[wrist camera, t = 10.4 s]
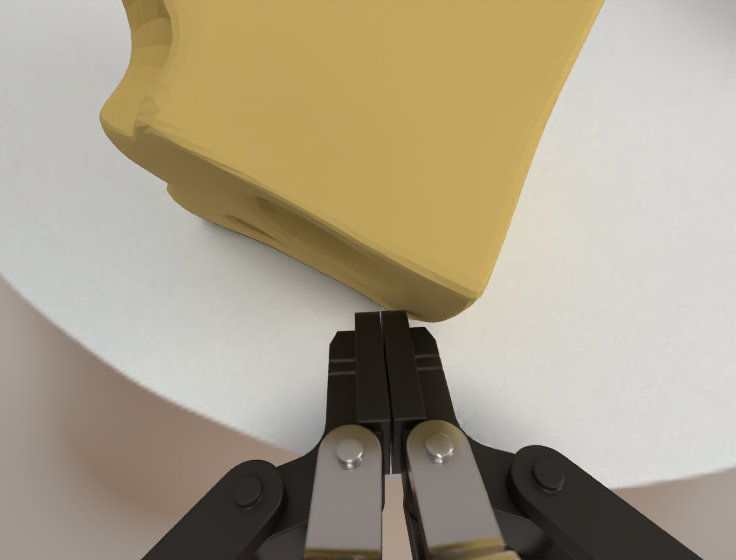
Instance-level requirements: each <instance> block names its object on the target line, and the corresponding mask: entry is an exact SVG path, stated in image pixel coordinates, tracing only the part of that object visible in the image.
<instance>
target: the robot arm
mask: <svg viewBox="0 0 736 560" xmlns="http://www.w3.org/2000/svg"><path fill="white" fill-rule="evenodd" d="M390 454H391V464H392V474H400V473H401V475H402V484H403V492H404V499H403V508H404V513H405V519H406V525H407V530H408V535H409V541H410V546H411V552H412V557H413V560H703V559H702V558H700V557H699V556H698V555H696V554H695V553H694V552H692V551H691V550H689V549H688V548H687V547H686V546H684V545H683V544H682V543H680V542H679V541H677V540H676V539H675V538H674V537H672V536H671V535H670V534H668V533H667V532H666V531H664V530H663V529H661V528H660V527H659V526H657V525H656V524H655V523H653V522H652V521H651V520H649V519H648V518H647V517H645V516H644V515H643V514H641V513H640V512H639V511H637V510H636V509H635V508H633V507H632V506H631V505H629V504H628V503H627V502H625V501H624V500H623V499H621V498H620V497H619V496H617V495H616V494H615V493H613V492H612V491H611V490H609V489H608V488H607V487H605V486H604V485H603V484H601V483H600V482H599V481H597V480H596V479H595V478H593V477H592V476H591V475H589V474H588V473H586V472H585V471H584V470H582V469H581V468H580V467H578V466H577V465H576V464H574V463H573V462H572V461H570V460H569V459H568V458H566V457H565V456H564V455H562V454H561V453H559V452H558V451H556V450H554V449H551V448H549V447H546V446H541V445H530V446H526V447H524V448H522V449H520V450H519V451H518V452H517V453H516V454H513V453H509V452H506V451H502V450H498V449H494V448H490V447H487V446H484V445H482V444H480V443H478V442H476V441H474V440H473V439H471V438H470V437H469V436H468V435H467V434H466V433H465V432H464V431H463V430H462V429H461V427H460V426H459V424H458V422H457V420H456V417H455V413H454V409H453V405H452V401H451V398H450V394H449V390H448V386H447V382H446V378H445V375H444V371H443V369H442V363H441V359H440V357H439V352H438V348H437V344H436V340H435V338H434V337H433V336H432V335H431V334H430V332H429V331H428V330H427V329H426V328H425V327H413V328H409V323H408V318H407V313H406V310H397V311H381V323H380V313H379V312H359V313H355V331H337V333H336V335H335V337H334V338H333V340H332V342H331V344H330V347H329V368H328V388H327V408H326V425H325V431H324V434H323V436H322V438H321V440H320V441H319V443H318V444H317V445H316V446H315V447H314V449H312V450H311V451H310V452H309V453H307V454H306V455H304V456H302V457H300V458H298V459H296V460H293V461H291V462H288V463H285V464H283V465H281V466H278V467H275V466H274V465H273V464H271V463H269V462H267V461H263V460H250V461H246V462H243V463H241V464H239V465H237V466H235V467H234V468H233V469H231V470H230V471H229V472H228V473H227V474H226V475H225V476H224V477H223V478H222V479H221V480H220V481H219V482H218V483H217V484H216V485H215V486H214V487H213V488H212V489H211V490H210V491H209V492H208V493H207V494H206V495H205V496H204V497H203V498H202V499H201V500H200V501H199V502H198V503H197V504H196V505H195V506H194V507H193V508H192V509H191V510H190V511H189V512H188V513H187V514H186V515H185V516H184V517H183V518H182V519H181V520H180V521H179V522H178V523H177V524H176V525H175V526H174V527H173V528H172V529H171V530H170V531H169V532H168V533H167V534H166V535H165V536H164V537H163V538H162V539H161V540H160V541H159V542H158V543H157V544H156V545H155V546H154V547H153V548H152V549H151V550H150V551H149V552H148V553H147V554H146V555H145V556H144V557H143V558H142V559H141V560H382V512H383V509H384V504H385V475H386V474H390Z"/></svg>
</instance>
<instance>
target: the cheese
mask: <svg viewBox="0 0 736 560" xmlns="http://www.w3.org/2000/svg"><path fill="white" fill-rule="evenodd" d="M604 1H605V0H122V3H123V5H124V8H125V10H126V14H127V18H128V21H129V25H130V29H131V38H132V52H131V58H130V64H129V66H128V69H127V71H126V74H125V76H124V78H123V79H122V81H121V82H120V84H119V85H118V87H117V88H116V90H115V91H114V92H113V94H112V95H111V96H110V98H109V99H108V100H107V102H106V103H105V104H104V106H103V107H102V109H101V112H100V122H101V125H102V127H103V130H104V132H105V133H106V135H107V136H108V138H109V139H110V140H111V141H112V143H113V144H114V145H115V146H116V147H117V148H118V149H119V150H120V151H121V152H122V153H123V154H124V155H126V156H127V157H128V158H129V159H131V160H132V161H133V162H135V163H136V164H138V165H139V166H141V167H142V168H144V169H146V170H147V171H149V172H150V173H152V174H154V175H155V176H157V177H159V178H160V179H162V180H164V181H165V182H167V183H168V186H167V191H168V192H169V194H170V195H171V196H172V198H173V199H174V200H175V201H176V202H177V203H178V204H180V205H181V206H182V207H183V208H185V209H186V210H188V211H189V212H191V213H193V214H195V215H197V216H199V217H201V218H203V219H206V220H208V221H210V222H213V223H215V224H218V225H220V226H223V227H226V228H228V229H231V230H233V231H236V232H238V233H241V234H243V235H246V236H249V237H251V238H253V239H256V240H258V241H260V242H263V243H265V244H267V245H269V246H271V247H273V248H275V249H277V250H279V251H281V252H283V253H285V254H287V255H289V256H291V257H293V258H295V259H296V260H298V261H300V262H302V263H304V264H306V265H308V266H310V267H312V268H314V269H316V270H318V271H320V272H322V273H324V274H326V275H327V276H329V277H331V278H333V279H335V280H337V281H339V282H341V283H343V284H345V285H347V286H349V287H351V288H353V289H355V290H356V291H358V292H360V293H362V294H363V295H365V296H366V297H368V298H369V299H371V300H372V301H374V302H376V303H377V304H379V305H381V306H382V307H384V308H386V309H388V310H390V311H397V310H406V313H407V318H409V319H413V320H418V321H424V322H432V323H434V322H441V321H444V320H447V319H449V318H452V317H454V316H456V315H458V314H459V313H461V312H462V311H464V310H465V309H467V308H468V307H470V306H471V305H472V304H473V303H474V302H475V301H476V300H477V299H478V298H479V297H481V295H482V294H483V292H484V290H485V288H486V287H487V284H488V281H489V279H490V276H491V273H492V271H493V268H494V266H495V263H496V260H497V258H498V255H499V253H500V250H501V247H502V245H503V242H504V240H505V237H506V234H507V231H508V228H509V225H510V222H511V219H512V216H513V213H514V211H515V208H516V205H517V202H518V199H519V196H520V193H521V190H522V187H523V185H524V182H525V179H526V176H527V173H528V170H529V168H530V165H531V162H532V159H533V157H534V154H535V151H536V148H537V146H538V143H539V141H540V138H541V136H542V133H543V131H544V128H545V126H546V124H547V121H548V119H549V117H550V115H551V112H552V110H553V108H554V105H555V103H556V101H557V99H558V96H559V94H560V92H561V90H562V88H563V86H564V84H565V82H566V80H567V77H568V75H569V73H570V71H571V69H572V67H573V65H574V63H575V61H576V59H577V57H578V55H579V53H580V51H581V48H582V46H583V44H584V42H585V40H586V38H587V36H588V34H589V32H590V30H591V28H592V26H593V24H594V22H595V20H596V18H597V16H598V13H599V11H600V9H601V7H602V5H603V3H604Z"/></svg>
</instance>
